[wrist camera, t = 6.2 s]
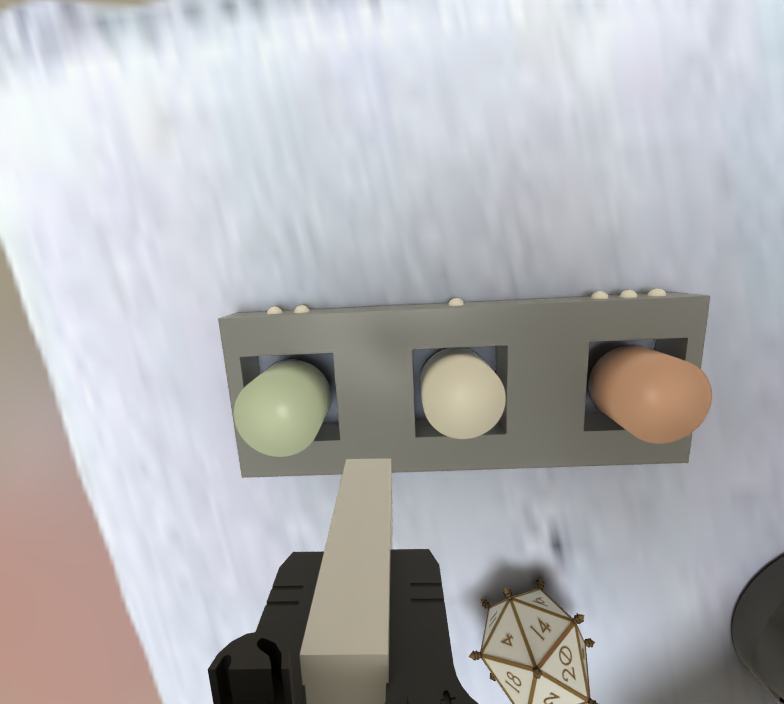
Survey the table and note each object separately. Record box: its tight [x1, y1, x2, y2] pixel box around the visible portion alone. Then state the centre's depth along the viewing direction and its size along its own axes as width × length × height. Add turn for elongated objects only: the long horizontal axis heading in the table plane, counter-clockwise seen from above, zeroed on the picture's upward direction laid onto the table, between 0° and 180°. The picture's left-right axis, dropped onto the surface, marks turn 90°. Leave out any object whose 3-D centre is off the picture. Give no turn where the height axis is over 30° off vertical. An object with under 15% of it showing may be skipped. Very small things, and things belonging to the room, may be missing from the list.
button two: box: [234, 359, 331, 457], centre depth 24 cm, size 5×5×4 cm
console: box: [218, 288, 710, 478], centre depth 26 cm, size 30×12×3 cm, turn 93°
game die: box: [469, 578, 598, 704], centre depth 28 cm, size 9×8×10 cm
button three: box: [588, 345, 712, 444], centre depth 24 cm, size 5×5×4 cm
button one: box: [420, 347, 506, 439], centre depth 25 cm, size 5×5×4 cm
